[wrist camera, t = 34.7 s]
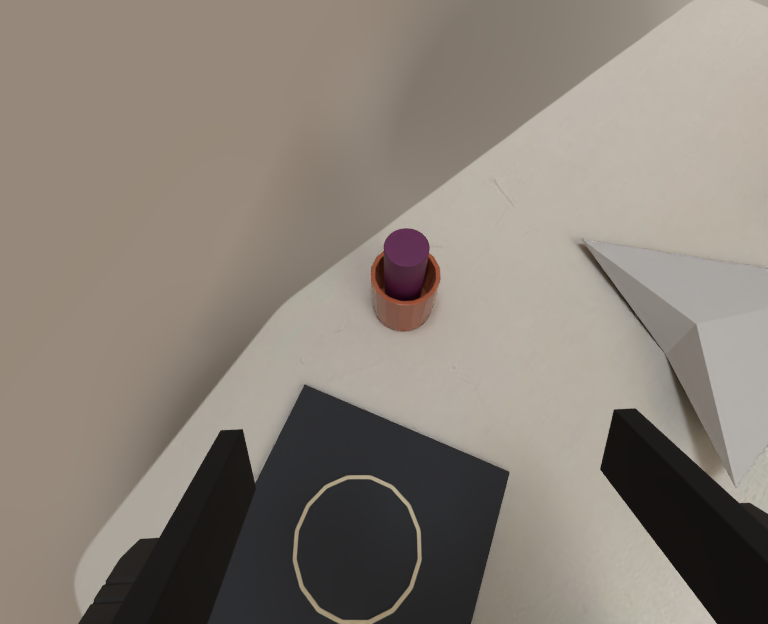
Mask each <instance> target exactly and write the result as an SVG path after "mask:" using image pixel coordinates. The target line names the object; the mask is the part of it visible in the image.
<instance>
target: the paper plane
mask: <svg viewBox="0 0 768 624" xmlns="http://www.w3.org/2000/svg"><path fill="white" fill-rule="evenodd" d="M582 241H583V242H584V243H585V245H586V246H587V248H588V249H589V250H590V252H591V253H592V254H593V256H594V257H595V258H596V260H597V261H598V263H599V264H600V265H601V267H602V268H603V269H604V271H605V272H606V273H607V275H608V276H609V278H610V279H611V280H612V282H613V283H614V284H615V286H616V287H617V289H618V290H619V291H620V293H621V294H622V295H623V297H624V298H625V299H626V301H627V302H628V304H629V305H630V306H631V308H632V309H633V310H634V312H635V313H636V314H637V316H638V317H639V319H640V320H641V321H642V323H643V324H644V325H645V327H646V328H647V330H648V331H649V332H650V334H651V335H652V336H653V338H654V339H655V340H656V342H657V343H658V345H659V346H660V347H661V349H662V350H663V351H664V353H665V354H666V356H667V358H668V360H669V362H670V364H671V365H672V367H673V369H674V371H675V373H676V375H677V377H678V379H679V381H680V383H681V385H682V386H683V388H684V390H685V392H686V394H687V396H688V398H689V400H690V402H691V404H692V406H693V407H694V409H695V411H696V413H697V415H698V417H699V419H700V421H701V423H702V425H703V427H704V428H705V430H706V432H707V434H708V436H709V438H710V440H711V442H712V444H713V446H714V448H715V449H716V451H717V453H718V455H719V457H720V459H721V461H722V463H723V465H724V467H725V469H726V470H727V472H728V474H729V476H730V478H731V480H732V482H733V484H734V486H735V488H737V486H738V485H739V484H740V482H741V481H742V480H743V478H744V477H745V476H746V474H747V473H748V472H749V470H750V469H751V468H752V466H753V465H754V464H755V463H756V461H757V460H758V459H759V457H760V456H761V455H762V453H763V452H764V451H765V449H766V448H767V447H768V268H764V267H758V266H751V265H745V264H739V263H732V262H726V261H719V260H713V259H707V258H700V257H694V256H688V255H681V254H675V253H669V252H662V251H656V250H649V249H643V248H637V247H630V246H624V245H618V244H611V243H605V242H599V241H592V240H586V239H582Z"/></svg>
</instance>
